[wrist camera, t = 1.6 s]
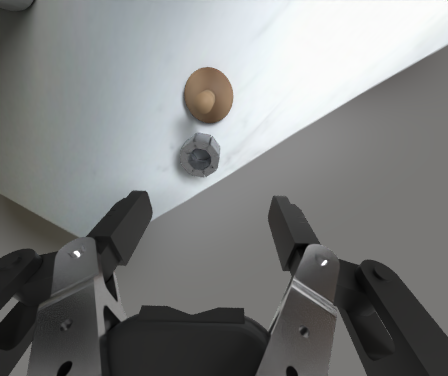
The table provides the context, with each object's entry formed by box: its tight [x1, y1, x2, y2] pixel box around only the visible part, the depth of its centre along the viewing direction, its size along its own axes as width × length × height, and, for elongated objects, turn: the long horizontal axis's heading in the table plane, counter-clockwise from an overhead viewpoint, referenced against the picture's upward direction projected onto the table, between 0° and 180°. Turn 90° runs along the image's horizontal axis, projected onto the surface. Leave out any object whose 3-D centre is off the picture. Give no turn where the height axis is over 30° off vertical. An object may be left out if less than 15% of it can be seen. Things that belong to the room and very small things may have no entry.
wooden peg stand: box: [184, 67, 233, 123], centre depth 21 cm, size 7×7×8 cm
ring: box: [180, 133, 220, 177], centre depth 27 cm, size 6×6×4 cm
